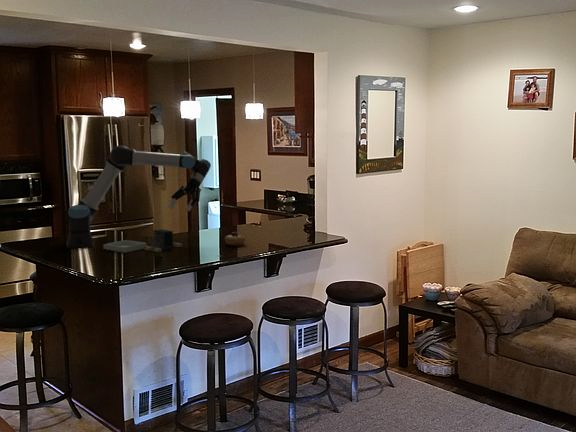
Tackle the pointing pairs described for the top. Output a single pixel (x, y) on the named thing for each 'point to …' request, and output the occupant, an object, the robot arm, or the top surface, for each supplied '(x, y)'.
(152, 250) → the oak cradle
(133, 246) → the tray
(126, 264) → the top surface
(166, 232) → the small box
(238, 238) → the pumpkin
